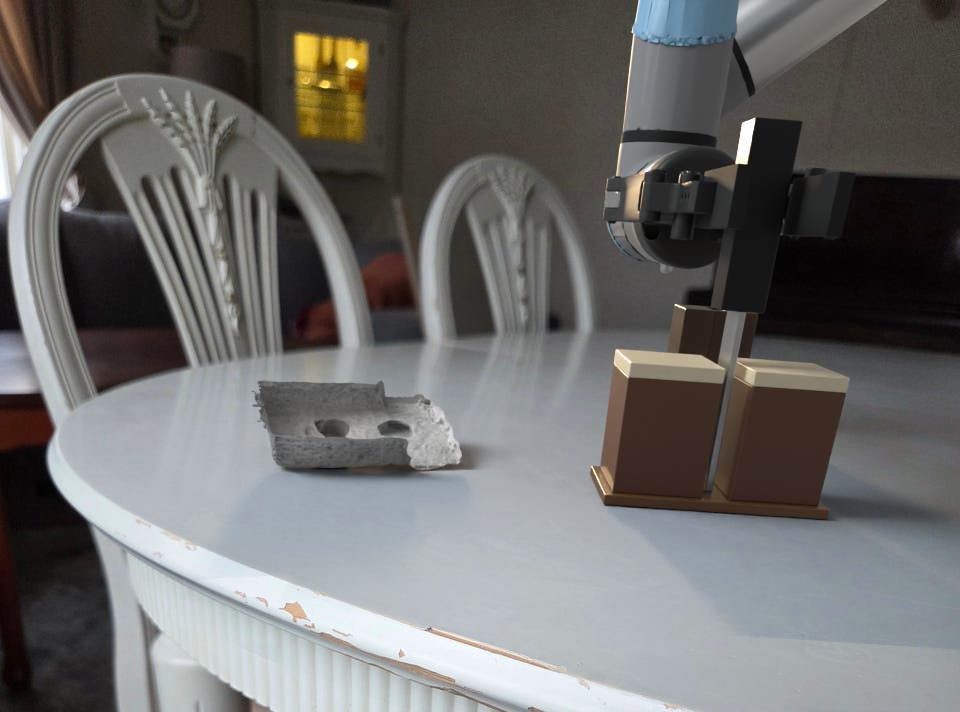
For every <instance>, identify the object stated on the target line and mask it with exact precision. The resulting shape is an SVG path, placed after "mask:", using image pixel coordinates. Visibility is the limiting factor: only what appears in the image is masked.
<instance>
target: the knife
mask: <svg viewBox="0 0 960 712" xmlns="http://www.w3.org/2000/svg"><path fill="white" fill-rule="evenodd" d="M803 123H804V122H803V120H801V119H799V120H798V119H787V118H772V117H762V116H756V117H754V118H753V117H752V118H750V119H748V120H746V121H743V122H742V124H741V130H740V136H739V142H738V147H737V152H736V153H737V154H736V159H735V161H736V164H738V163H739V164H751V165H754V170H753V175H752V181H751V186H750V192H749V197H748V202H747V208H746V213H745V219H744V224H743V229H724V233H723V238H722V244H721V250H720V256H719V260H717V261H718V262H717V266H716V267H717V268H716V274H715V279H714V285H713V291H712V296H711V302H710V307H714V308H717V309H720V310H724V311H727V316H726V321H725V327H724V332H723V338H722V343H721V348H720V354H719V359H718V365H719V366H721V367H722V368H724V369H726V371H725V377H724V382H723V388H722V393H721V398H720V404H719V409H718V414H717V420H716V425H715V430H714V436H713V441H712V447H711V452H710V457H709V463H708V468H707V473H706V479H705V484H704V490H705V491H706V492H712V488H713V483H714V478H715V473H716V468H717V462H718V457H719V452H720V447H721V442H722V436H723V431H724V426H725V421H726V415H727V410H728V405H729V400H730V395H731V389H732V384H733V379H734V374H735V369H736V363H737V358H738V353H739V348H740V343H741V337H742V332H743V327H744V322H745V317H746V312H751V313H757V314H765V312H766V309H767V303H768V302H767V301H768V297H769V293H770V288H771V283H772V277H773V272H774V267H775V262H776V257H777V254H778V253H777V252H778V247H779V243H780V238H781V235H780V233H781V228H782V223H783V218H784V213H785V208H786V203H787V198H788V193H789V188H790V184H792V179H793V172H794V168H795V163H796V158H797V153H798V147H799V142H800V139H801V133H802V129H803Z"/></svg>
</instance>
